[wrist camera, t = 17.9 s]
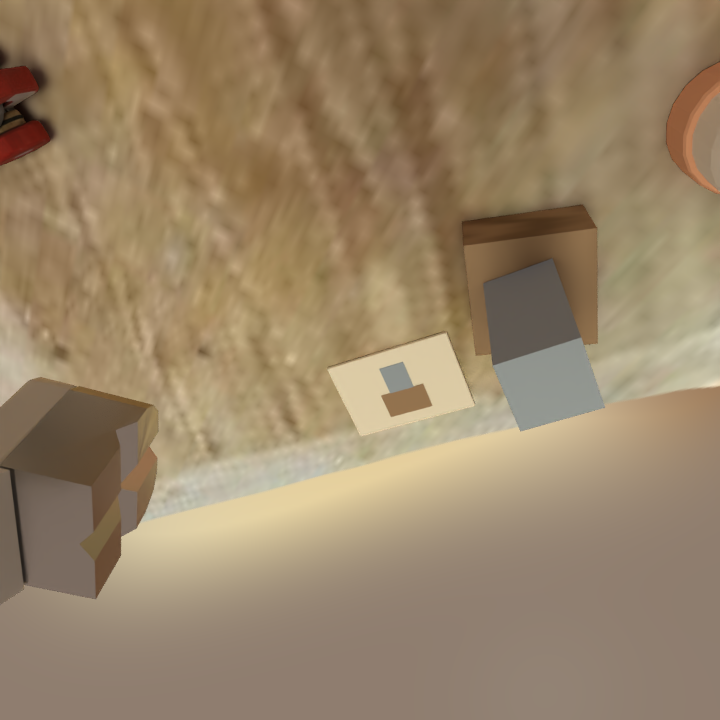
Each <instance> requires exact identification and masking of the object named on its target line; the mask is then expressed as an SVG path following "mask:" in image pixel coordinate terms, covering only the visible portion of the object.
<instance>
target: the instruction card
mask: <svg viewBox="0 0 720 720" xmlns="http://www.w3.org/2000/svg"><path fill="white" fill-rule="evenodd" d="M327 370H328V372H329V374H330V376H331V378H332V380H333V382H334V384H335V386H336V388H337V390H338V392H339V394H340V396H341V398H342V400H343V402H344V404H345V406H346V408H347V410H348V412H349V414H350V416H351V418H352V420H353V422H354V424H355V426H356V428H357V430H358V432H359V434H360V436H363V435H367V434H371V433H375V432H378V431H382V430H386V429H390V428H393V427H397V426H401V425H405V424H408V423H412V422H416V421H420V420H423V419H427V418H431V417H435V416H438V415H442V414H446V413H450V412H453V411H457V410H461V409H465V408H468V407H472V406H475V403H474V401H473V398H472V395H471V393H470V390H469V388H468V385H467V383H466V380H465V378H464V375H463V372H462V370H461V367H460V365H459V362H458V360H457V357H456V355H455V352H454V349H453V347H452V344H451V342H450V339H449V337H448V334H447V332H446V331H445V332H442V333H438V334H435V335H432V336H429V337H425V338H422V339H419V340H416V341H412V342H409V343H406V344H402V345H399V346H396V347H393V348H389V349H386V350H383V351H380V352H376V353H373V354H370V355H367V356H363V357H360V358H357V359H354V360H350V361H347V362H344V363H340V364H337V365H334V366H331V367H328V368H327Z"/></svg>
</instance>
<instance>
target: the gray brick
mask: <svg viewBox="0 0 720 720" xmlns="http://www.w3.org/2000/svg"><path fill="white" fill-rule="evenodd" d="M483 287H484V296H485V304H486V313H487V321H488V330H489V338H490V347H491V355H492V364H493V368H494V370H495V372H496V375H497V377H498V379H499V382H500V384H501V386H502V389H503V391H504V394H505V396H506V398H507V401H508V403H509V405H510V408H511V410H512V412H513V415H514V417H515V420H516V422H517V424H518V427H519V429H520V431H524V430H527V429H531V428H534V427H538V426H541V425H545V424H548V423H552V422H556V421H559V420H563V419H566V418H570V417H573V416H577V415H580V414H584V413H588V412H591V411H595V410H598V409H601V408H605V406H604V403H603V400H602V397H601V394H600V391H599V388H598V385H597V382H596V379H595V376H594V373H593V371H592V368H591V365H590V362H589V359H588V356H587V353H586V350H585V347H584V344H583V341H582V338H581V335H580V332H579V330H578V327H577V324H576V322H575V319H574V316H573V313H572V311H571V308H570V305H569V302H568V300H567V297H566V294H565V291H564V289H563V286H562V283H561V280H560V278H559V275H558V272H557V269H556V267H555V264H554V261H553V258H552V259H549V260H546V261H544V262H541V263H538V264H535V265H533V266H530V267H527V268H524V269H522V270H519V271H516V272H513V273H510V274H508V275H505V276H502V277H499V278H497V279H494V280H491V281H488V282H486V283H483Z"/></svg>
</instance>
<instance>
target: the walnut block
mask: <svg viewBox="0 0 720 720" xmlns="http://www.w3.org/2000/svg"><path fill="white" fill-rule="evenodd" d="M462 230H463V245H464V255H465V264H466V273H467V282H468V291H469V300H470V309H471V318H472V327H473V336H474V345H475V354H476V356H477V355H487V354H491V347H490V338H489V330H488V321H487V313H486V304H485V296H484V287H483V283H486V282H488V281H491V280H494V279H497V278H499V277H502V276H505V275H508V274H510V273H513V272H516V271H519V270H522V269H524V268H527V267H530V266H533V265H535V264H538V263H541V262H544V261H546V260H549V259H552V258H553V261H554V264H555V267H556V269H557V272H558V275H559V278H560V280H561V283H562V286H563V289H564V291H565V294H566V297H567V300H568V302H569V305H570V308H571V311H572V313H573V316H574V319H575V322H576V324H577V327H578V330H579V332H580V335H581V338H582V341H583V344H584V345H586V344H596V343H598V327H597V227H596V226H595V224H594V222H593V221H592V219H591V217H590V216H589V214H588V212H587V211H586V209H585V208H584V206H583V205H577V206H570V207H563V208H556V209H549V210H542V211H535V212H527V213H520V214H513V215H506V216H499V217H492V218H485V219H478V220H471V221H464V222H462Z"/></svg>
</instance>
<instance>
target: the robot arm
mask: <svg viewBox="0 0 720 720" xmlns="http://www.w3.org/2000/svg"><path fill="white" fill-rule="evenodd" d="M157 433H158V410H157V409H156V407H155V406H154V405H151V404H147V403H143V402H140V401H136V400H132V399H128V398H124V397H120V396H116V395H112V394H108V393H104V392H100V391H96V390H92V389H88V388H85V387H81V386H78V387H77V386H74V385H70V384H66V383H62V382H58V381H54V380H50V379H46V378H42V377H39V378H35V379H32V380H29V381H28V382H27V383H26V384H25V385H23V386H22V387H21V388H20V389H19V390H18V391H17V392H16V393H15V394H14V395H13V396H12V397H11V398H10V399H9V400H8V401H6V402H5V403H4V404H3V405H2V406H1V407H0V605H1V604H2V603H4V602H5V601H7V600H8V599H10V598H11V597H13V596H15V595H16V594H17V593H19V592H21V591H22V590H24V585H27V586H32V587H37V588H42V589H47V590H52V591H57V592H62V593H67V594H72V595H77V596H82V597H87V598H92V599H96V598H97V596H98V594H99V593H100V591H101V589H102V587H103V586H104V584H105V582H106V581H107V579H108V577H109V575H110V574H111V572H112V570H113V568H114V567H115V565H116V563H117V562H118V560H119V558H120V556H121V536H123V535H125V534H127V533H129V532H131V531H132V530H134V529H136V528H137V526H138V525H139V523H140V521H141V519H142V517H143V516H144V514H145V512H146V509H147V507H148V504H149V501H150V498H151V495H152V493H153V490H154V485H155V479H156V474H157V457H156V455H155V454H154V453H153V451H152V450H151V448H150V447H149V446H150V444H151V443H152V441H153V439H154V438H155V436H156V435H157Z"/></svg>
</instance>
